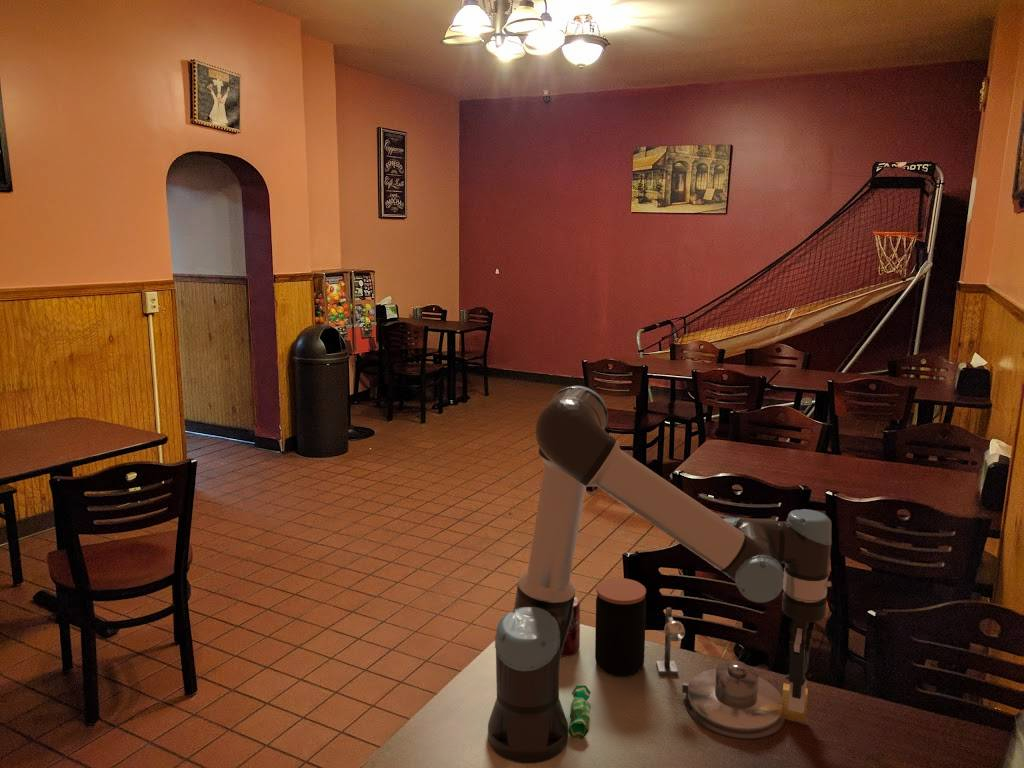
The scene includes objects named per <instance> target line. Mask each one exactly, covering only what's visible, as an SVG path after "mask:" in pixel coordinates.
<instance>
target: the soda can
mask: <svg viewBox="0 0 1024 768" xmlns="http://www.w3.org/2000/svg"><path fill="white" fill-rule="evenodd" d="M579 600H580V599H578V598H577V597H576V596H575V597H574V603H573V610H574V614H573V620H572V623H571V626H570V627H569V630H568V634H567V637H566V641H565V644H564V647H563V651H562V655H561V658H569V657H572V656H575V655H576V654H577V653H578V652H579V650H580V646H581V645H580V644H581V643H580V640H581V602H580V601H579Z"/></svg>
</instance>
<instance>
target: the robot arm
mask: <svg viewBox="0 0 1024 768" xmlns="http://www.w3.org/2000/svg"><path fill="white" fill-rule="evenodd" d="M608 422H609V414H608V409H607V406H606V403H605V401H604V399H603V398H602V396H601V395H599V394H598V393H597V392H596V391H594V390H593V389H591V388H589V387H587V386H582V385H572V386H567V387H565V388H562V389H560V390H558V391H557V392H556V393H554V394H553V395H552V397H550V400H548V404H546V406H545V407H544V408H543V409H541V412H540V413H539V414H538V417H537V419H536V423H535V432H534V433H535V439H536V442H537V445H538V447H539V448H538V456H539V458H541V460H542V461H543V464H544V466H543V471H542V472H543V473H542V478H541V484H540V491H539V497H538V502H537V510H536V516H535V522H534V528H533V534H532V541H531V546H530V547H531V548H530V554H529V559H528V566H527V572H525V573H523V574H522V575H521V576H520V577H519V578H518V581H517V588H516V593H515V600H514V606H513V610H512V612H511V611H509V612H507V613H505V614H504V615H503V616H502V617H501V618H500V620H499V621H498V624H497V626H496V633H495V635H494V637H495V638H494V643H495V644H494V648H495V673H496V674H495V675H496V679H495V680H496V699H495V702H494V705H493V708H492V711H491V713H490V716H489V719H488V723H487V724H488V725H487V740H488V743H489V745H490V747H491V748H492V750H493V751H494V752H495V753H496V754H497V755H498V756H501V757H502V758H504V759H506V760H509V761H512V762H515V763H522V764H535V763H542V762H545V761H548V760H551V759H553V758H555V757H556V756H557V755H559V754H561V753H562V751H564V749H565V747H567V743H568V741H569V732H568V730H569V724H568V720H567V717H566V714H565V711H564V709H563V708H564V707H563V705H562V704H561V700H560V662H561V658H562V657H561V655H562V651H563V647H564V644H565V641H566V637H567V634H568V630H569V627H570V626H571V623H572V620H573V614H574V610H573V603H574V597H576V587H575V585H574V584H573V582H572V581H571V574H572V570H573V569H572V568H573V562H574V558H575V551H576V546H577V540H578V534H579V530H580V523H581V517H582V511H583V506H584V501H585V495H586V489H587V488H588V487H597V488H598V489H599V490H601V491H603V492H604V493H606V494H607V495H609V496H610V497H611V498H612V499H615V500H616V501H617V502H618V503H620V504H622V505H623V506H625V507H626V508H627V509H629V510H630V511H632V512H633V513H635V514H636V515H637V516H639V517H641V518H642V519H644V520H645V521H647V523H649V524H651V525H652V526H654V527H655V528H656V529H658V530H660V531H661V532H663V533H664V534H666V535H667V536H668V537H670V538H671V539H673V540H674V541H676V542H678V543H679V544H680V545H682V546H683V547H685V548H686V549H688V550H689V551H691V552H692V553H693V554H695V555H696V556H699V558H700V559H702V560H704V561H705V562H707V563H708V564H709V565H711V566H713V567H714V568H715V569H717V570H718V571H720V572H721V573H723V574H724V575H725V576H727V577H728V578H730V579H731V580H732V581H734V582H735V583H734V584H735V586H736V588H737V589H738V592H740V594H741V595H742V596H743V597H744V598H745V599H747V600H748V601H750V602H753V603H768V602H770V601H773V600H774V599H775V598H777V597H778V596H779V595H780V594H781V591H782V590H783V592H782V599H781V600H782V601H781V610H782V612H783V614H784V615H786V616H787V617H788V618H790V619H791V623H789V630H788V631H789V635H790V637H789V643H788V644H789V645H788V646H789V670H788V671H789V672H788V673H787V674H786V677H785V680H788V681H789V684H790V689H789V703H788V710H792V711H795V712H799V713H803V712H804V705H805V692H806V688H807V679H808V678H809V679H810V678H811V676H812V673H811V672H808V669H809V668H810V667H809V666H810V665H809V660H810V651H811V645H812V641H813V634H814V630H815V626H816V623H818V622H820V621H823V620H824V618H825V617H826V611H827V596H828V595H827V594H828V588H830V587H832V581H830V580H828V578H829V569H830V568H829V567H830V557H831V548H832V544H833V541H832V520H831V518H830V517H829V516H828V515H826V514H825V513H823V512H822V511H821V512H820V511H819V510H818V511H817V510H813V509H806V508H802V509H794V510H791V511H790V512H789V513H788V515H787V518H786V521H784V520H782V521H779V520H778V521H776V520H766V519H765V520H764V519H752V518H743V517H736V518H735V517H724V518H722V517H721V516H719V515H717V514H716V513H715V512H713V511H712V510H711V509H709V508H708V507H706V506H705V505H703V504H702V503H701V502H699V501H697V500H696V499H695V498H693V497H691V496H690V495H688V494H687V493H685V492H684V491H682V490H681V489H680V488H678V487H677V486H676V485H674V484H672V483H671V482H669V481H668V480H666V479H665V478H663V477H662V476H660V475H659V474H657V473H656V472H654V471H653V470H652V469H650V468H649V467H647V466H646V465H644V464H643V463H642V462H640V461H638V460H637V459H635V458H634V457H633V456H631V455H629V453H626V452H625V451H624V450H623V449H621V448H620V442H619V440H618V439H617V438H615V437H614V436H612V435H611V434H609V433H608V432H607V431H606V430H605V429H606V428H607V426H608ZM782 564H784V568H783V566H782Z"/></svg>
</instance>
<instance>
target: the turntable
mask: <svg viewBox="0 0 1024 768" xmlns="http://www.w3.org/2000/svg"><path fill="white" fill-rule="evenodd" d="M715 680H716V668H714V669H713V668H712V669H711V668H710V669H707V670H703V671H702V672H699V673H697V674H695V675H694V676H693V677H692V678H691V680H690V681H689V683H687V682H682V688H681V691H682V693H683V694H685V695H686V694H688V702H689V705H690V707H691V708H692V710H693V711H694V712H695V714H696V715H698V716H699V717H700V718H701V719H703V720H704V721H705V722H707V723H709V724H711V725H713V726H715V727H717V728H720V729H723V730H727V731H731V732H736V733H759V732H763V731H767V730H769V729H771V728H773V727H775V726H776V725H777V724H778V723H779V722H780V720H781V718H785V719H786V720H790V721H795V722H799V723H804V724H805V723H806V722H807V721H806V720H807V708H808V696H809V695H808V694H809V691H808V690H809V688H807V687H806V692H805V705H804V712H803V713H799V712H795V711H792V710H788V703H789V689H790V683H785V682H784V683H783V686H782V694H781V693H780V692H779V690H778V689H777V688H776V687H775V686H774V685H773V684H771V683H770V682H769V681H768V680H766V679H765V678H762V677H760V676H759V677H758V693H757V702H756V704H755V705H754V706H752V707H750V708H745V709H739V708H733V707H729V706H727V705H725V704H723V703H721V702H720V701H719V700H718V699H717V698H716V696H715Z"/></svg>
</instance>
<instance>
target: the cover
mask: <svg viewBox="0 0 1024 768" xmlns="http://www.w3.org/2000/svg"><path fill="white" fill-rule="evenodd" d="M715 669H716V680H715V696H716V698H717V699H718V700H719V701H720V702H721V703H723V704H725V705H727V706H729V707H733V708H739V709H745V708H750V707H752V706H754V705H755V704H756V702H757V693H758V677H760V676H759V673H758V671H757V670H755V668H753V667H752V666H750V665H749V664H746V663H745V662H742V661H740V660H730V661H725V662H721V663H720V664H718V665H717V666H716V668H715Z"/></svg>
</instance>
